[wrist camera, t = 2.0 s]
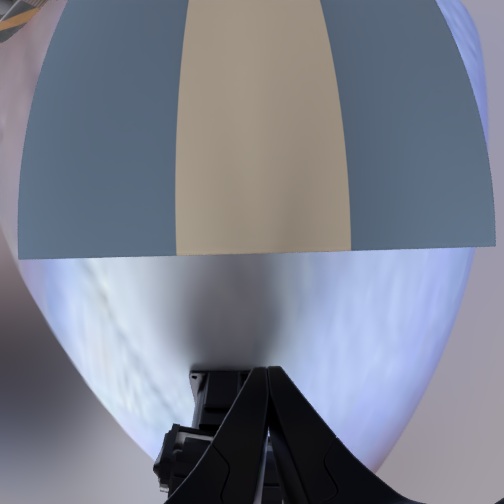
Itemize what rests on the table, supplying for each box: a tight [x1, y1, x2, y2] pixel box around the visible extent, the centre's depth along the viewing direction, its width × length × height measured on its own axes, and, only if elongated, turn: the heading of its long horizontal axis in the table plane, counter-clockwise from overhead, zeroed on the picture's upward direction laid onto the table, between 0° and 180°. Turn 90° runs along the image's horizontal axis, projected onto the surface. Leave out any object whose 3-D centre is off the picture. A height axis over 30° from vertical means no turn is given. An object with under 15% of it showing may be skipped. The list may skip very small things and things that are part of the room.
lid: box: [18, 0, 496, 260], centre depth 9 cm, size 13×18×1 cm
